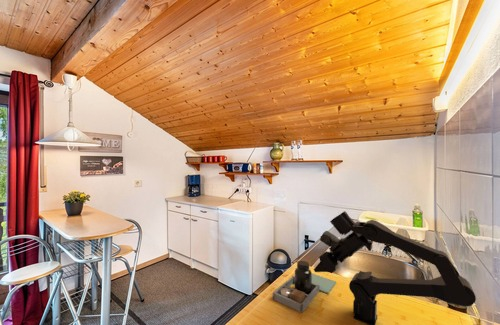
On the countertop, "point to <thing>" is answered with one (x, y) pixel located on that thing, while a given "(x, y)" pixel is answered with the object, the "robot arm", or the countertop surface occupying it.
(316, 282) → the rubber mat
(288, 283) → the parts organiser
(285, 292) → the silver round piece
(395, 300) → the countertop surface
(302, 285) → the supplement bottle
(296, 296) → the walnut block
